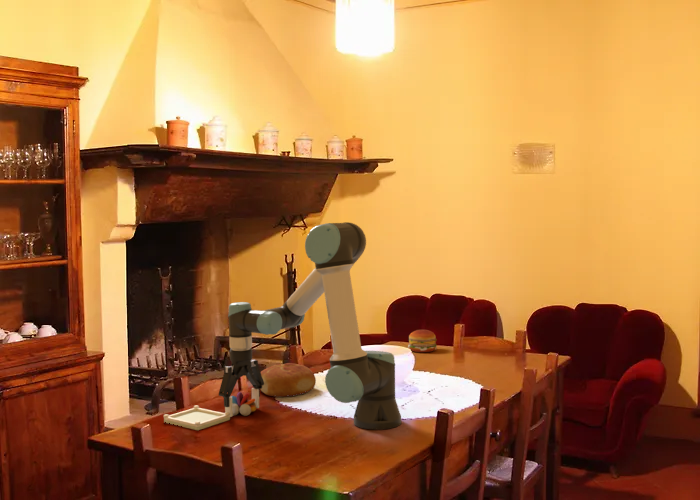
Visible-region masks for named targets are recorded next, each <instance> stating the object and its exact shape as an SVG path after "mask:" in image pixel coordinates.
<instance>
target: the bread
mask: <svg viewBox="0 0 700 500" xmlns="http://www.w3.org/2000/svg"><path fill="white" fill-rule="evenodd" d="M260 373H261V376H262V378H263V381H264V385H263V386H262V389H260V392H262V393H263V394H265V395H266V396H271V397H280V398H281V397H282V398H286V397H295V396H300V395H303V394H306V393H307V394H308V392H311V391H312V389H314V388H315V386H316V383H317V382H316V381H317V380H316V379H317V378H316V375H315V373H313V371H312V370H311V369H310V368H309V367H308V366H305V365H303V364H297V363H294V362H293V363H292V362H287V363H283V364H282V363H278V364H273V365H270V366H269V367H267V368H265V369H263V370H260Z"/></svg>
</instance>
